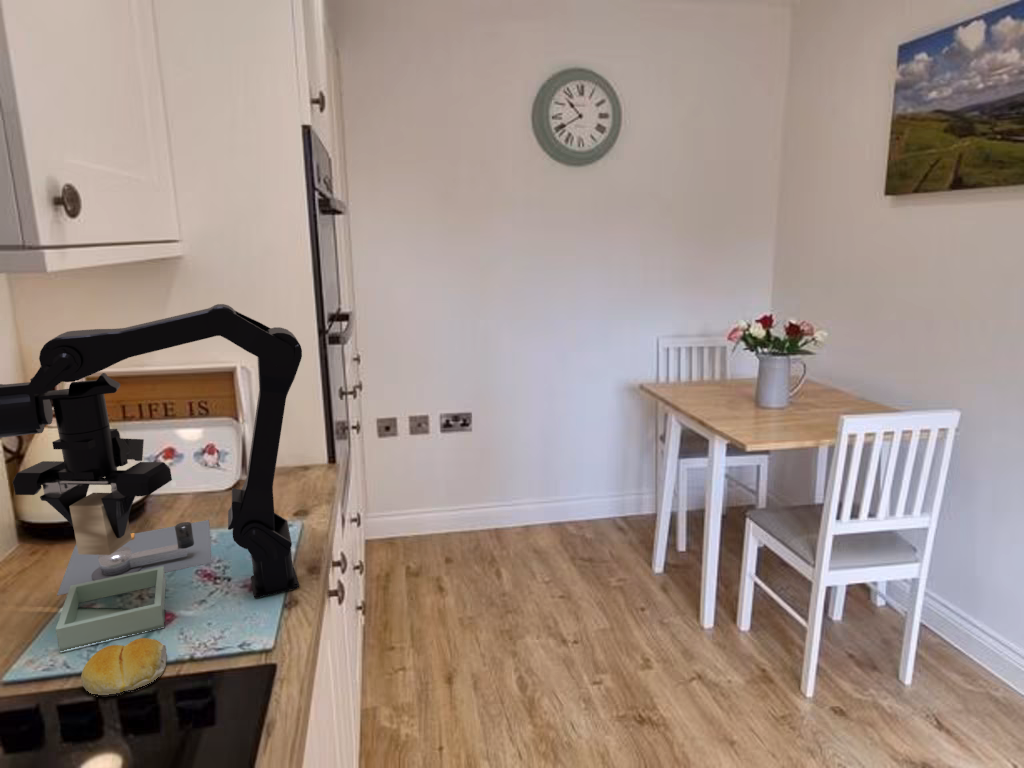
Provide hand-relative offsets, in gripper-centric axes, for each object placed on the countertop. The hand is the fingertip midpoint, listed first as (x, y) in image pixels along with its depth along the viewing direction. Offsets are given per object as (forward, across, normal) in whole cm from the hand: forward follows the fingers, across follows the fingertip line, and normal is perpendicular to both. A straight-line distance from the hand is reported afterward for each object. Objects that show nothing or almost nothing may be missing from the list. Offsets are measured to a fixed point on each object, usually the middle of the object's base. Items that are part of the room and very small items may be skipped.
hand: (104, 536), depth 90 cm
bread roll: (+13, -9, +12) cm, 20 cm away
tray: (+12, 0, 0) cm, 12 cm away
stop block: (+2, 0, 0) cm, 2 cm away
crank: (+11, +4, -13) cm, 17 cm away
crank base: (+12, +7, -16) cm, 22 cm away
